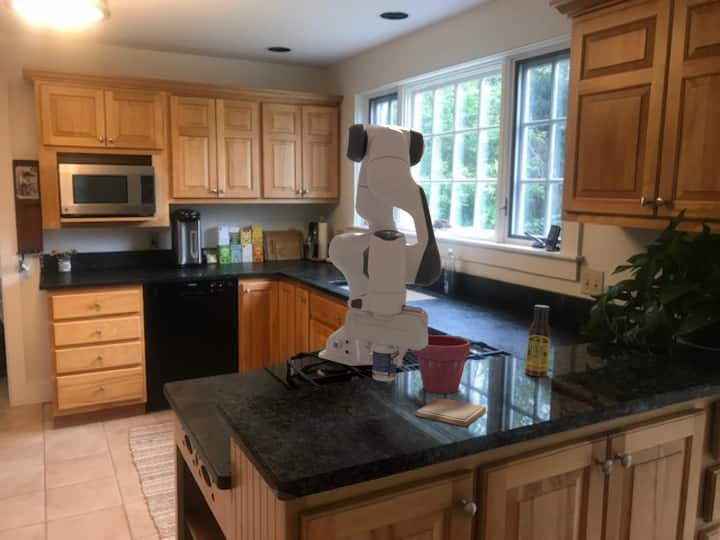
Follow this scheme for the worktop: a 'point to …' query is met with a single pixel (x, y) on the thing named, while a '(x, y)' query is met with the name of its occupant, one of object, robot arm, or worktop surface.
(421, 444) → the worktop surface
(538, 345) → the sauce bottle
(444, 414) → the wooden coaster
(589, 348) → the worktop surface
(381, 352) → the pill bottle
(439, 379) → the plant pot
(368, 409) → the worktop surface
